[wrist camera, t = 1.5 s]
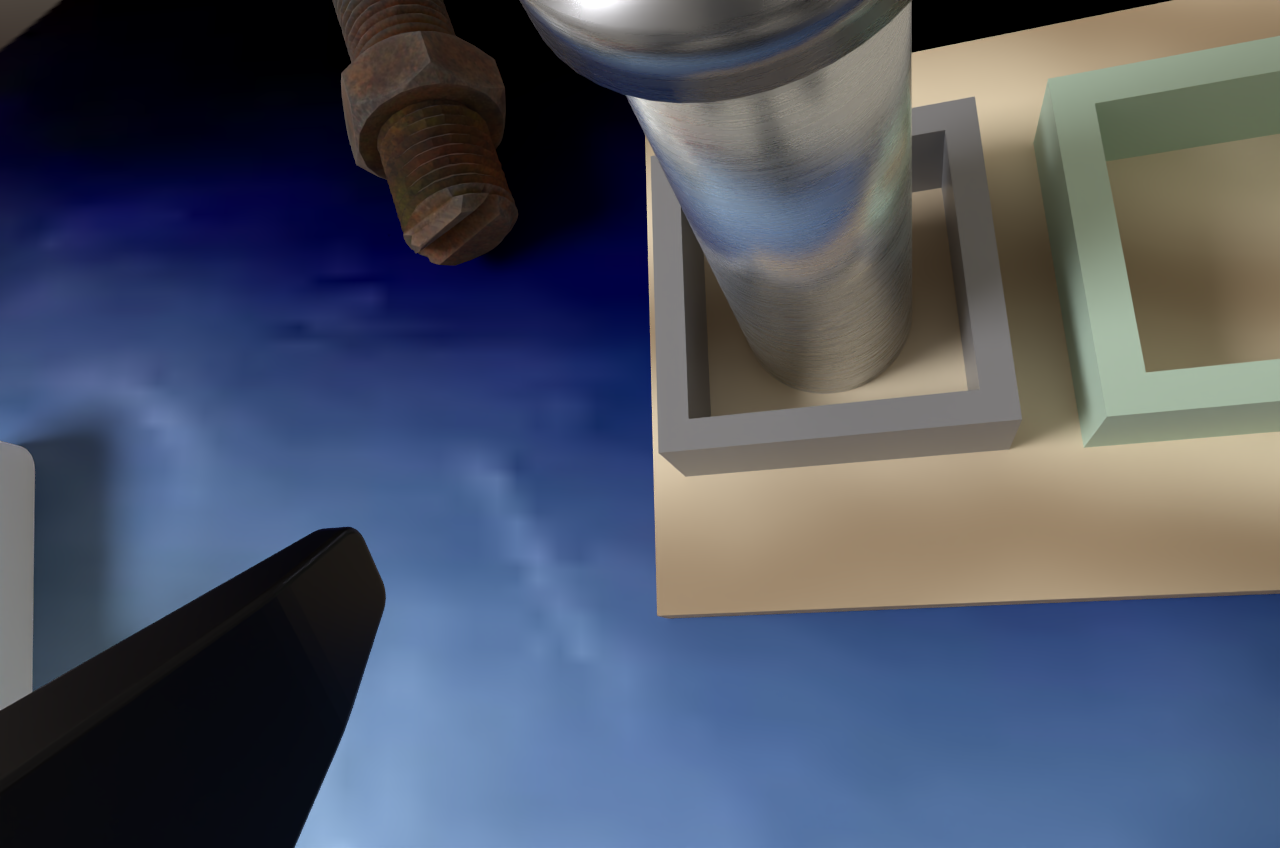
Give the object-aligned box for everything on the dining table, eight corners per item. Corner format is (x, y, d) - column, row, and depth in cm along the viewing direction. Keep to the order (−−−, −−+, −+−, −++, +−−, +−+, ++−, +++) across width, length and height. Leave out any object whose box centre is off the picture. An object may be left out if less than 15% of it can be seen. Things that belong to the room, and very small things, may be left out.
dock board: (1570, 581, 17) (1608, 576, 16) (667, 618, 22) (657, 616, 21) (1385, -15, 21) (1407, -47, 20) (654, 126, 26) (644, 106, 25)
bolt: (499, 300, 28) (386, -43, 33) (598, 203, 25) (457, -159, 30) (327, 277, 24) (224, -112, 29) (421, 156, 21) (289, -257, 26)
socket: (1509, 412, 17) (1601, 371, 15) (1083, 447, 19) (1106, 416, 17) (1408, 79, 19) (1474, -1, 17) (1033, 143, 21) (1047, 79, 19)
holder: (1009, 449, 20) (1022, 419, 17) (685, 476, 22) (658, 452, 19) (968, 157, 22) (974, 96, 20) (676, 206, 24) (650, 156, 21)
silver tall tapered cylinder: (951, 406, 20) (1017, -63, 7) (727, 428, 22) (455, 65, 9) (925, 204, 22) (943, -482, 9) (717, 236, 23) (472, -316, 10)
